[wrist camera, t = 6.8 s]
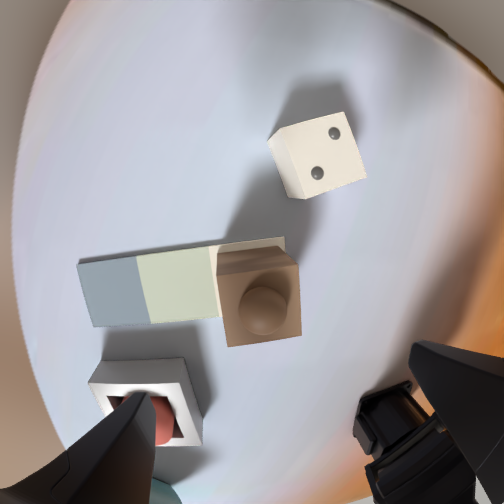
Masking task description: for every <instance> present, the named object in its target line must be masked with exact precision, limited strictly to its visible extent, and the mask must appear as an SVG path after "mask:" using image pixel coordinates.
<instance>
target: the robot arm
mask: <svg viewBox="0 0 504 504" xmlns="http://www.w3.org/2000/svg"><path fill="white" fill-rule="evenodd" d="M408 364H409V368H410V369H411V371H412V373H413V375H414V377H415V378H416V380H417V382H418V384H419V386H420V387H421V389H422V391H423V393H424V395H425V396H426V398H427V400H428V401H429V403H430V404H431V405H432V407H433V408H434V410H435V412H434V413H432V415H431V416H429V415H428V414H427V413H426V412H425V411H424V409H423V408H422V407H421V406H420V405H419V404H418V403H417V401H416V400H415V399H414V398H413V397H412V396H411V395H410V391H411V388H412V384H413V383H412V382H411V381H406V382H404V383H402V384H399V385H397V386H394V387H391V388H389V389H386V390H384V391H381V392H378V393H375V394H372V395H369V396H367V397H364V398H362V399H361V400H360V401H359V406H358V411H357V415H356V417H355V421H354V426H353V436H354V437H356V438H357V440H358V441H359V443H360V445H361V447H362V449H363V450H364V452H365V454H366V455H370V454H371V455H372V457H373V459H374V460H375V461H373V462H372V463H370V464H367V465H366V466H364V467H365V470H366V476H367V479H368V482H369V485H370V488H371V491H372V494H373V501H374V503H375V504H479V503H478V502H477V501H476V499H475V486H476V476H477V478H478V480H479V481H480V483H481V485H482V487H483V488H484V490H485V492H486V494H487V496H488V498H489V499H490V501H491V503H492V504H502V503H503V502H504V358H501V357H496V356H491V355H487V354H482V353H477V352H473V351H468V350H464V349H460V348H455V347H451V346H447V345H443V344H439V343H434V342H430V341H426V340H419V341H417V342H414V343H413V344H412V346H411V351H410V356H409V361H408ZM443 430H444V431H443ZM155 444H156V410H155V408H154V406H153V403H152V401H151V399H150V396H149V394H148V393H147V392H134V393H133V394H132V395H131V396H130V397H128V398H127V399H126V400H125V401H124V402H123V403H122V404H120V405H119V406H118V407H117V408H116V409H115V410H113V411H112V412H111V413H110V414H109V415H107V416H106V417H105V418H104V419H103V420H102V421H100V422H99V423H98V424H97V425H96V426H94V427H93V428H92V429H91V430H90V431H88V432H87V433H86V434H85V435H84V436H82V437H81V438H80V439H79V440H78V441H76V442H75V443H74V444H73V445H72V446H70V447H69V448H68V449H67V450H65V451H64V452H63V453H62V454H60V455H59V456H58V457H57V458H55V459H54V460H53V461H51V462H50V463H49V464H47V465H46V466H44V467H43V468H41V469H40V470H38V471H37V472H35V473H33V474H31V475H30V476H28V477H26V478H25V479H23V480H21V481H20V482H18V483H16V484H15V485H12V486H10V487H7V488H3V489H0V504H149V500H150V491H151V483H152V475H153V467H154V460H155Z"/></svg>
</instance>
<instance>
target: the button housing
mask: <svg viewBox="0 0 504 504" xmlns="http://www.w3.org/2000/svg"><path fill="white" fill-rule="evenodd" d="M88 385H89V387H90V389H91V391H92V393H93V395H94V397H95V399H96V401H97V402H98V404H99V406H100V408H101V410H102V412H103V413H104V415H105V417H106V416H107V415H109V414H110V413H111V412H112V411H113V410H115V409H116V408H117V407H118V406H119V405H120V404H121V403H122V400H123V398H124V396H131V395H132V394H133V393H134V392H147V393H148V394H149V396H167V397H168V400H169V402H170V405H171V407H172V410H173V412H174V415H175V418H174V425H173V433H172V438H171V440H170V441H169V442H167V443H165V444H163V445H158V446H202V437H203V419H202V416H201V413H200V410H199V407H198V404H197V401H196V398H195V394H194V391H193V388H192V385H191V381H190V378H189V374H188V371H187V367H186V364H185V360H184V357H182V358H169V359H151V360H121V361H100V363H99V364H98V366H97V368H96V369H95V371H94V373H93V374H92V376H91V378H90V379H89V381H88Z"/></svg>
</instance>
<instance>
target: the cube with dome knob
mask: <svg viewBox="0 0 504 504" xmlns="http://www.w3.org/2000/svg"><path fill="white" fill-rule="evenodd" d="M216 278H217V285H218V291H219V298H220V304H221V310H222V316H223V323H224V328H225V334H226V340H227V346H228V347H233V346H241V345H248V344H255V343H261V342H268V341H274V340H280V339H285V338H291V337H296V336H302V330H301V305H300V285H299V268H298V264H297V263H296V262H295V261H294V260H293V259H292V258H291V257H289V256H288V255H287V254H286V253H285V252H284V251H283V250H282V249H281V248H280V247H279V246H270V247H262V248H254V249H246V250H239V251H231V252H223V253H217V267H216Z"/></svg>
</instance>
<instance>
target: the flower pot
mask: <svg viewBox="0 0 504 504" xmlns="http://www.w3.org/2000/svg"><path fill="white" fill-rule="evenodd" d="M149 504H182V502H181V500H180V498H179V497H178V495H177V494H176V492H175V491H174V490H173V488H172V487H171V486H170V485H168V484H166V483H163V482H161V481H158V480H156V479H154V478H152V483H151V491H150V500H149Z"/></svg>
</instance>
